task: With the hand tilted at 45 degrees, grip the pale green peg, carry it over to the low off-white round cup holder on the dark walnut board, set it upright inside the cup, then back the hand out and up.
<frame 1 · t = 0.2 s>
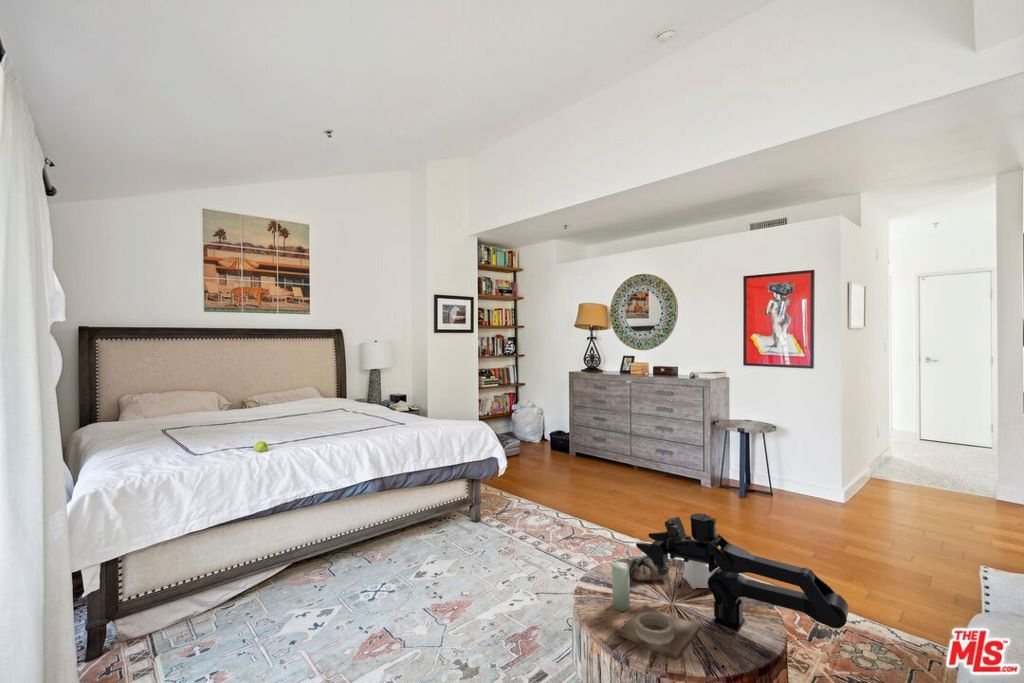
hand: (642, 539, 149), 17 cm above the table, tool horizontal, fingers open, 9 cm apart
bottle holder: (654, 637, 126), on the table
dark brown lumpy piece: (647, 580, 157), on the table
pale green peg: (621, 606, 142), on the table
medicine bottle: (699, 584, 154), on the table
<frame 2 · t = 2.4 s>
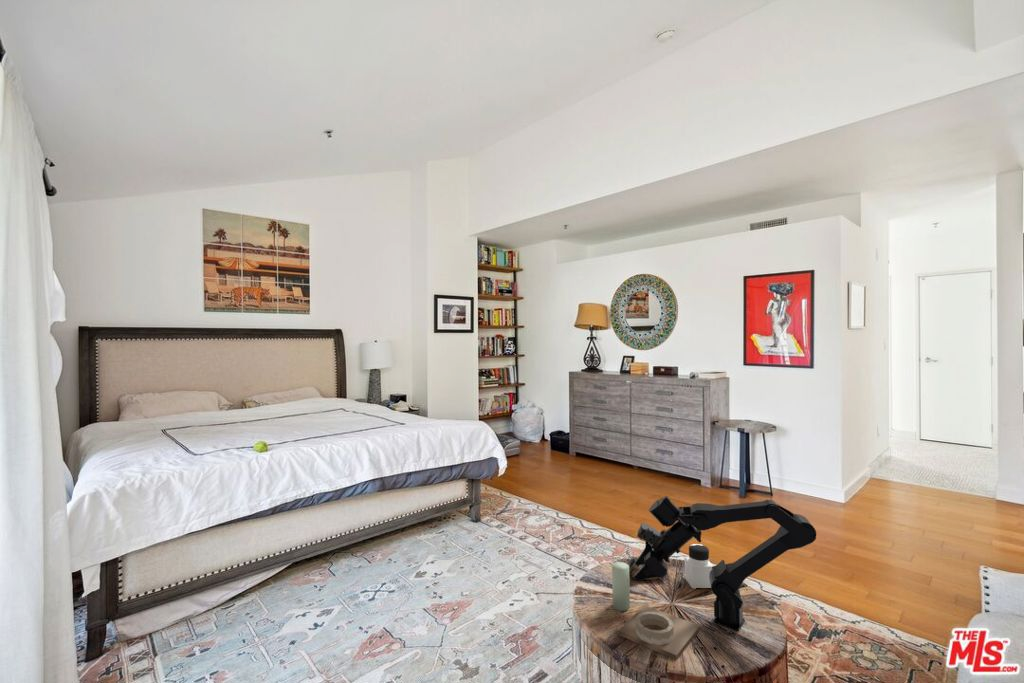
hand: (635, 571, 140), 11 cm above the table, tool tilted 45°, fingers open, 9 cm apart
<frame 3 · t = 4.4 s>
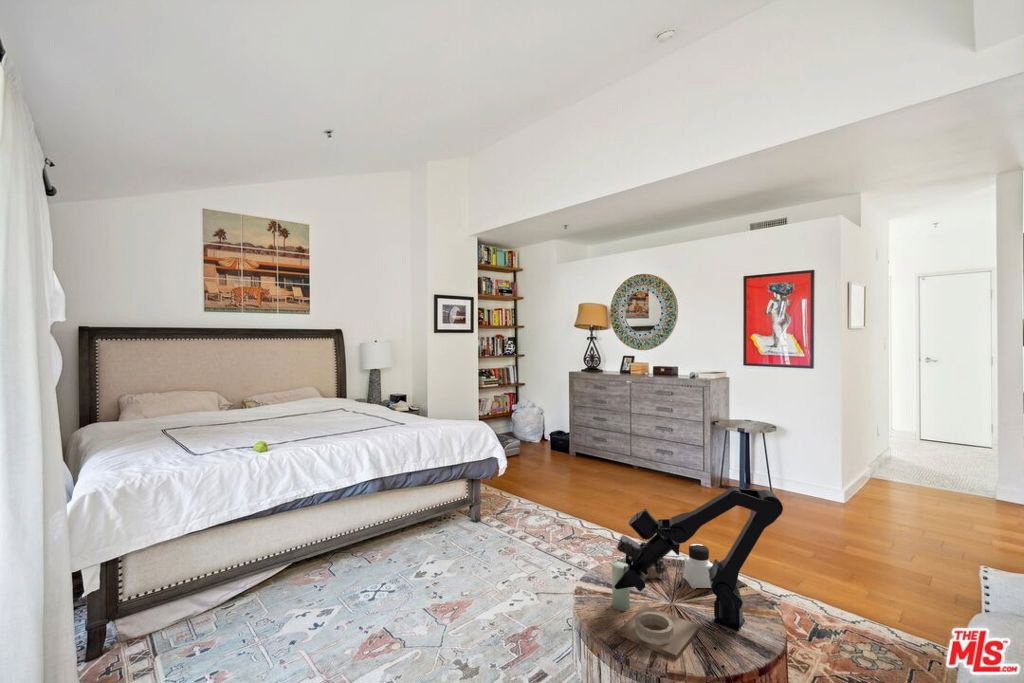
hand: (616, 583, 142), 7 cm above the table, tool tilted 45°, fingers closed on pale green peg, 5 cm apart
pale green peg: (621, 606, 142), on the table, touching gripper
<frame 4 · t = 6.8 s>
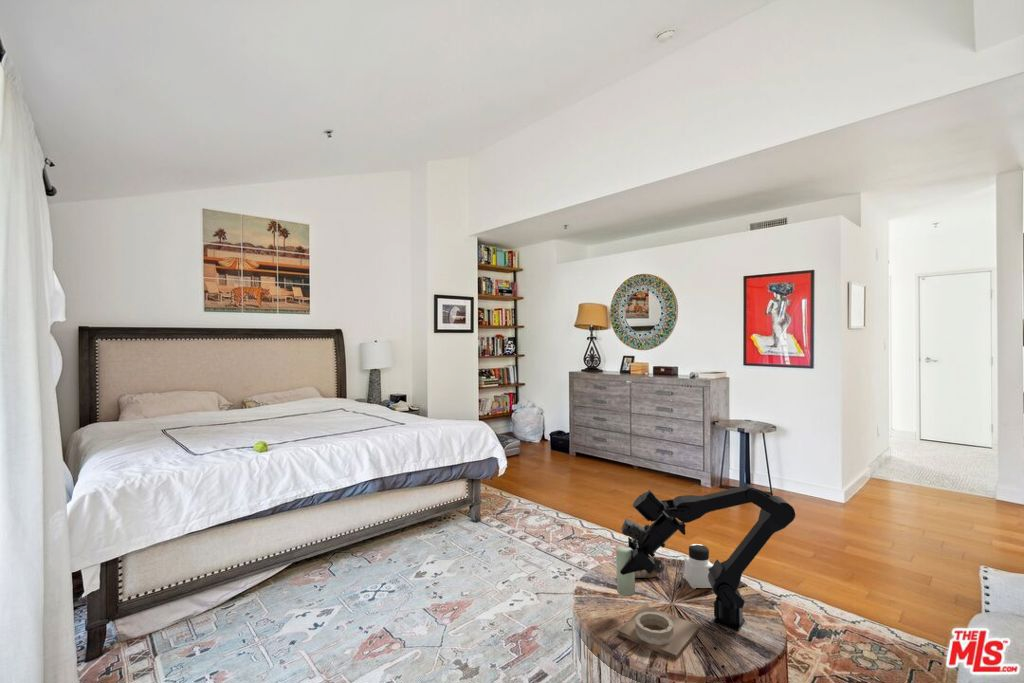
hand: (620, 568, 138), 13 cm above the table, tool tilted 45°, fingers closed on pale green peg, 5 cm apart
pale green peg: (626, 591, 138), point 6 cm above the table, touching gripper
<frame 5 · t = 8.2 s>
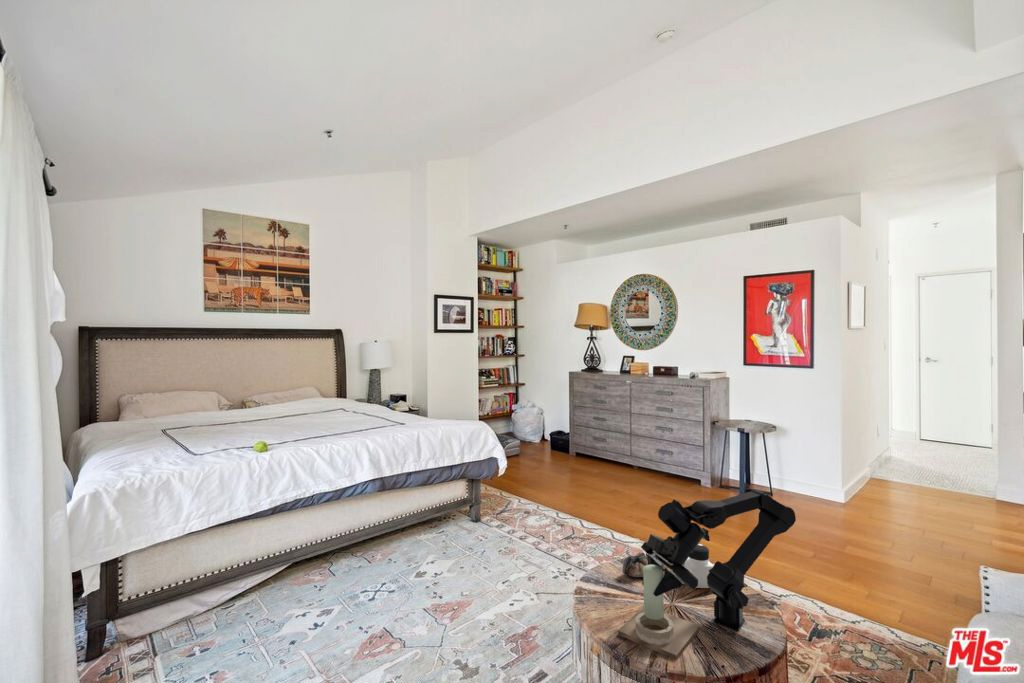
hand: (649, 590, 126), 13 cm above the table, tool tilted 45°, fingers closed on pale green peg, 5 cm apart
pale green peg: (654, 614, 126), point 6 cm above the table, touching gripper
when the fingers open (9 cm above the table, at t = 9.4 s): pale green peg drops 1 cm, resting on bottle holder.
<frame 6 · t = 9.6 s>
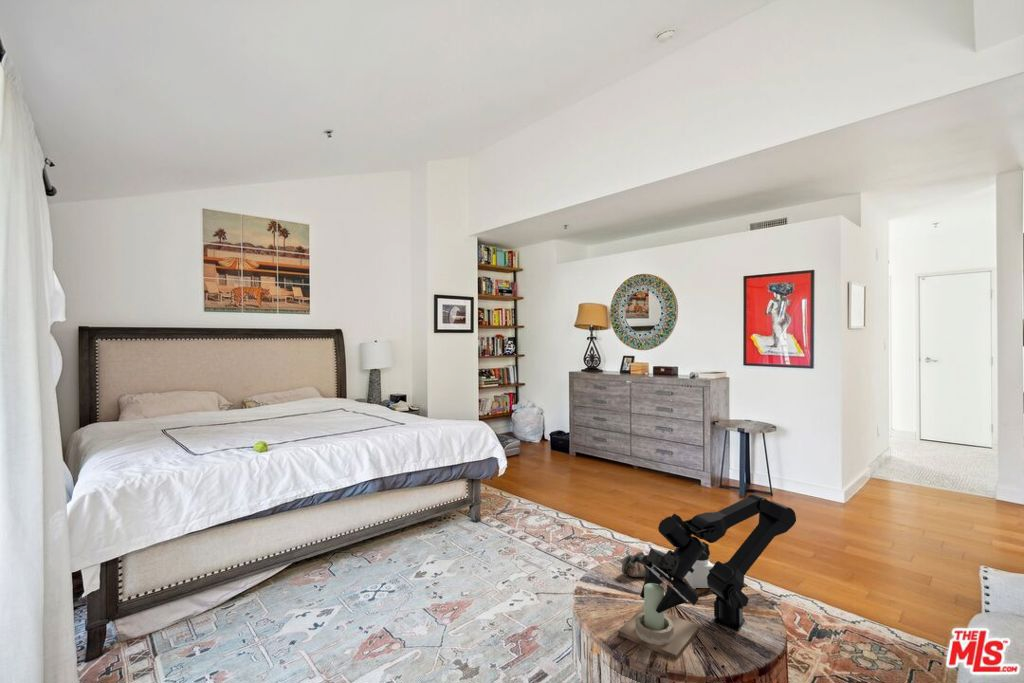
hand: (649, 604, 126), 9 cm above the table, tool tilted 45°, fingers open, 7 cm apart
pale green peg: (654, 633, 126), point 1 cm above the table, touching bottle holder
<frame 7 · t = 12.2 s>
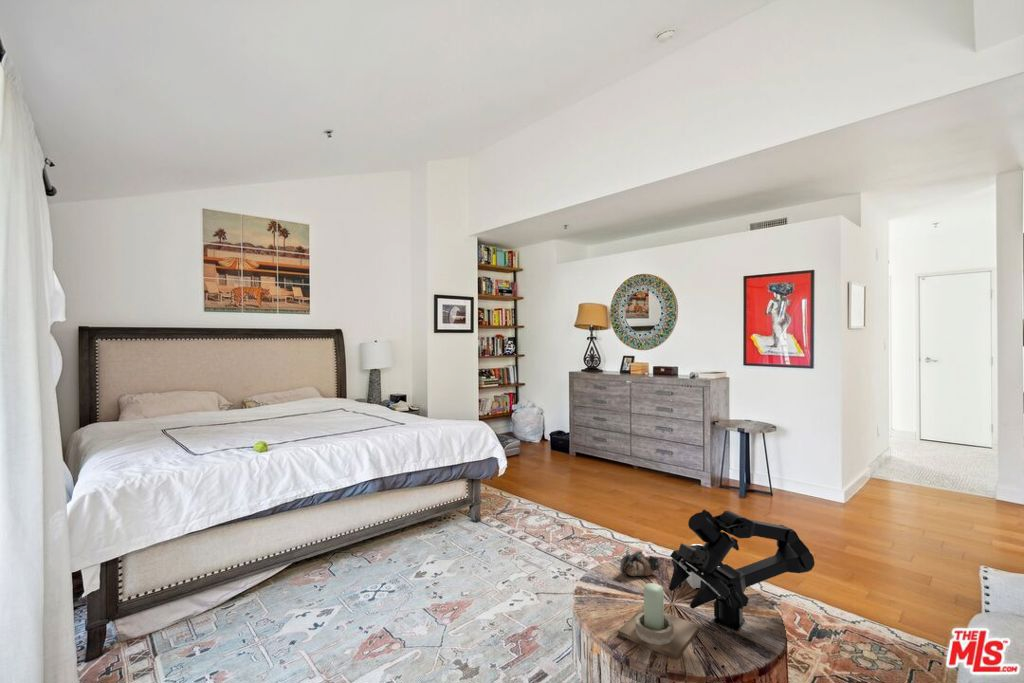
hand: (680, 598, 129), 9 cm above the table, tool tilted 45°, fingers open, 9 cm apart
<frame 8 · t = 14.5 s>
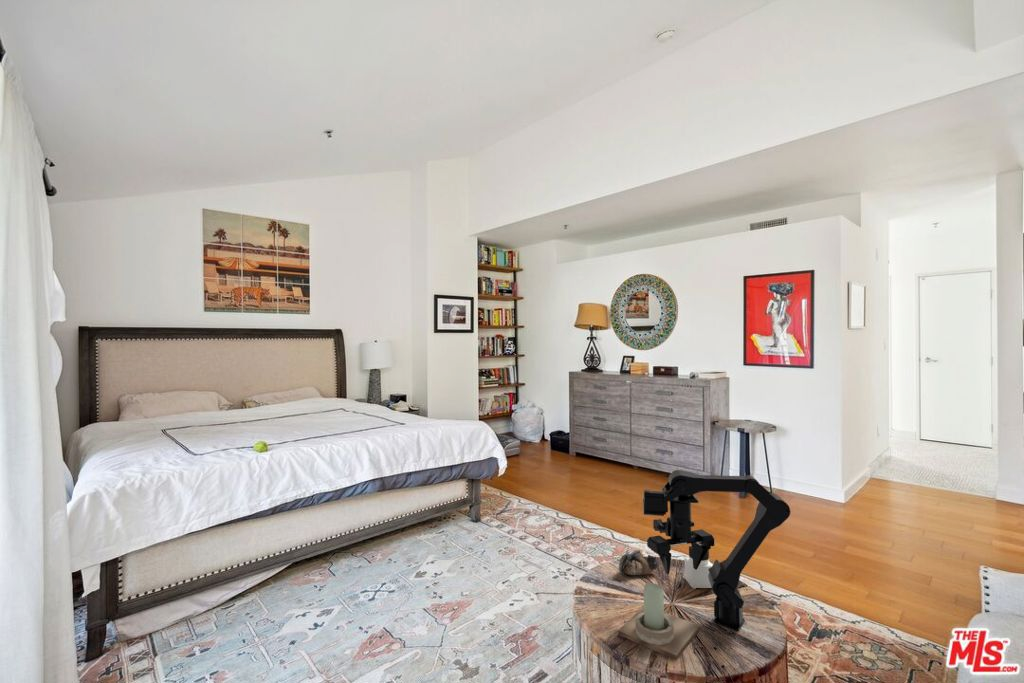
hand: (681, 571, 136), 13 cm above the table, tool pointing down, fingers open, 9 cm apart
at the end: pale green peg 0.0 cm off-centre on the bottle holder, point 1.2 cm above the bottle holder's base; pale green peg tilted 0°; the gripper is holding nothing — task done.
